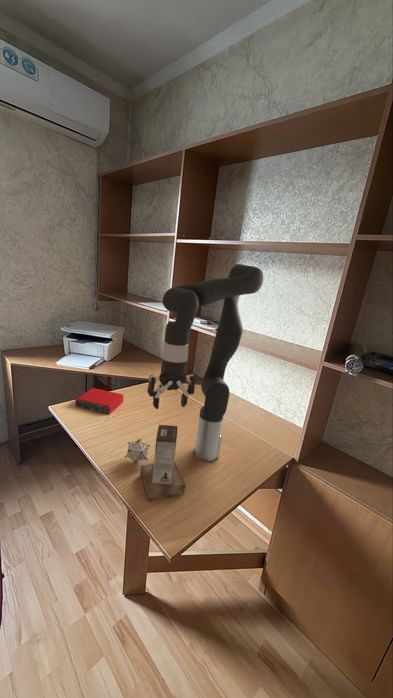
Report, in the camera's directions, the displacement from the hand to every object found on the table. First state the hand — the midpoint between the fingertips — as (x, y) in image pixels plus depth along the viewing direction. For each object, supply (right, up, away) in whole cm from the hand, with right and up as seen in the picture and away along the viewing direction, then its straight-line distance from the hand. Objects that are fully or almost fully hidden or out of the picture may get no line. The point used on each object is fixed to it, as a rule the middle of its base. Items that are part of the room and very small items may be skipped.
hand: (169, 406), depth 90 cm
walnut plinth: (-3, -28, +8) cm, 29 cm away
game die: (-14, -24, +17) cm, 32 cm away
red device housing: (-40, -11, +55) cm, 69 cm away
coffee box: (-3, -24, +7) cm, 25 cm away
